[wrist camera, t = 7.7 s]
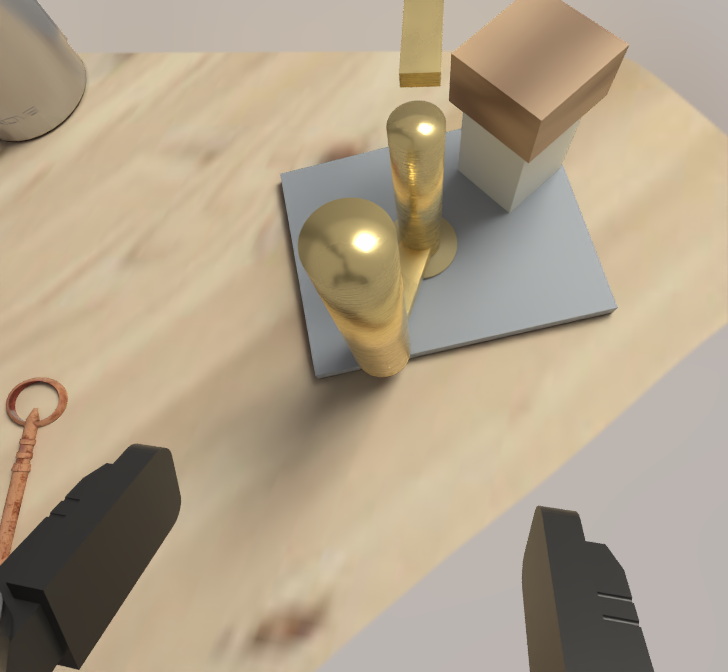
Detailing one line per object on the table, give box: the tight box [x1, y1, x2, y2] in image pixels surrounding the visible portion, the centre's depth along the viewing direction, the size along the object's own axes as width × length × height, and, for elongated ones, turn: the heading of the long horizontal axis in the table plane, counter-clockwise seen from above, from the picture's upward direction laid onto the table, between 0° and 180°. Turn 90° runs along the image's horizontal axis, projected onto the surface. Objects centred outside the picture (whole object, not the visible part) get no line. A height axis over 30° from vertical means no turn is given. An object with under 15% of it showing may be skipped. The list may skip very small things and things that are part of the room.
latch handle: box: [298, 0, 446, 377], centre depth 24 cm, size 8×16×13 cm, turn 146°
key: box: [0, 378, 68, 565], centre depth 30 cm, size 6×1×15 cm
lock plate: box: [280, 112, 618, 379], centre depth 28 cm, size 14×17×7 cm
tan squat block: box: [449, 0, 629, 163], centre depth 24 cm, size 6×6×3 cm
